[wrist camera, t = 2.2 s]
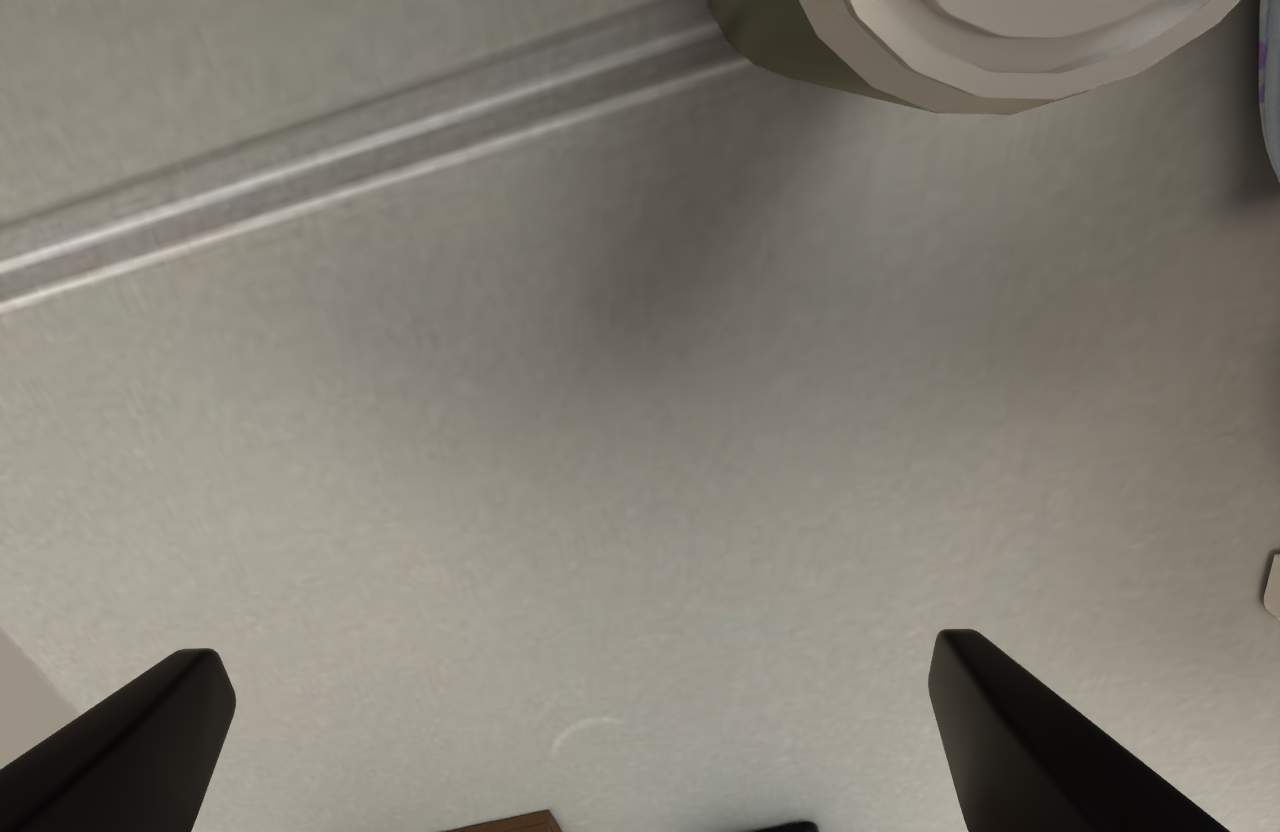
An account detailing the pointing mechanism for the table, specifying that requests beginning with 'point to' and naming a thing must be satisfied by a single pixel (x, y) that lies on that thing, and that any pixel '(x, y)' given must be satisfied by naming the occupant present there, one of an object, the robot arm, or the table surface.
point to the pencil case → (1270, 78)
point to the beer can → (963, 45)
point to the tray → (518, 824)
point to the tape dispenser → (1273, 589)
